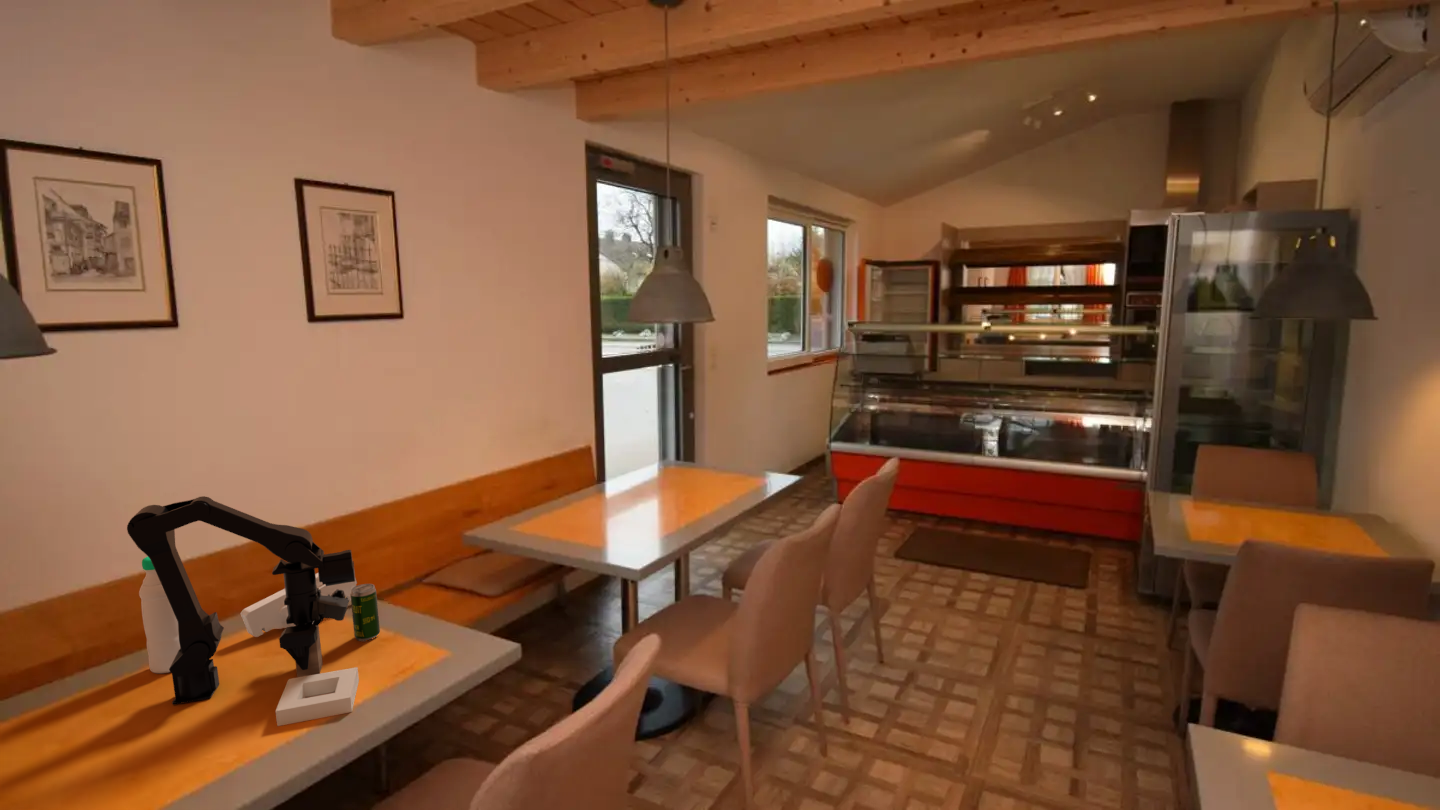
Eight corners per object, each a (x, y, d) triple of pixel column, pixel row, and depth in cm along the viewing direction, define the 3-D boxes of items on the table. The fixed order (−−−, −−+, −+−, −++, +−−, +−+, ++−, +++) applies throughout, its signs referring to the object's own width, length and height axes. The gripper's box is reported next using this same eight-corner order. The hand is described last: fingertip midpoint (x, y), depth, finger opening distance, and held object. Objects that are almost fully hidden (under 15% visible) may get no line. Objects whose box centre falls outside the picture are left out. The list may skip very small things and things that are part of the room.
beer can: (370, 629, 176) (365, 582, 175) (385, 634, 174) (380, 585, 172) (349, 639, 172) (344, 590, 170) (365, 643, 169) (360, 594, 167)
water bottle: (185, 670, 158) (169, 559, 155) (145, 677, 156) (128, 564, 152) (194, 656, 165) (180, 548, 161) (156, 662, 162) (141, 553, 159)
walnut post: (297, 677, 155) (292, 636, 153) (300, 668, 158) (296, 628, 157) (319, 673, 156) (315, 633, 155) (322, 664, 160) (318, 625, 159)
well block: (277, 726, 137) (275, 711, 136) (290, 693, 148) (288, 679, 148) (351, 711, 141) (350, 697, 141) (358, 680, 153) (357, 667, 152)
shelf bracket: (366, 605, 191) (351, 562, 187) (265, 661, 173) (247, 615, 169) (355, 600, 194) (341, 558, 191) (255, 655, 176) (237, 610, 172)
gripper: (338, 600, 149) (345, 672, 151) (349, 569, 166) (355, 634, 168) (275, 609, 145) (283, 683, 147) (292, 576, 162) (300, 643, 164)
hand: (308, 659), depth 157 cm, fingers open, 9 cm apart
